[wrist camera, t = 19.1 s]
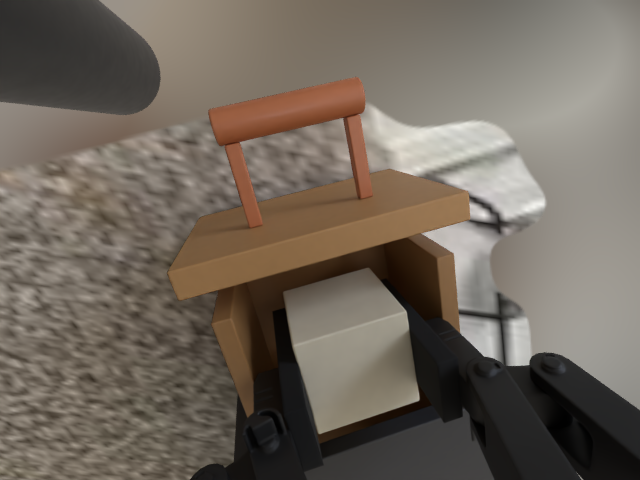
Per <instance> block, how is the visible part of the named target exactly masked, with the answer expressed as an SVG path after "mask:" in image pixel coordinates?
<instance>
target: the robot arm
mask: <svg viewBox="0 0 640 480" xmlns="http://www.w3.org/2000/svg"><path fill="white" fill-rule="evenodd" d="M380 281H381V282H382V283H383V285H384V286H385V287H386V288H387V289H388V290H389V292H390V293H391V294H392V295H393V296H394V297H395V299H396V300H397V301H398V302H399V303H400V304H401V306H402V307H403V308H404V309H405V310H406V312H407V317H408V324H409V331H410V338H411V345H412V351H413V358H414V365H415V372H416V378H417V382H418V384H419V386H420V387H421V389H422V390H423V392H424V393H425V395H426V396H427V398H428V399H429V401H430V402H431V404H432V405H433V407H434V409H435V410H436V412H437V413H438V415H439V416H440V418H441V419H442V421H443V422H444V423H447V422H449V421H452V420H455V419H458V418H461V417H463V410H462V406H463V407H464V408H465V410H466V411H467V412H468V413H469V416H470V429H471V438H472V441H475V437H476V439H477V441H478V443H479V446H480V448H481V450H482V453H483V455H484V457H485V459H486V462H487V464H488V466H489V469H490V471H491V473H492V475H493V478H494V480H581V479H580V477H579V476H578V474H579V475H580V476H581V477H582V479H583V480H640V410H639V409H637V408H636V407H635V406H633V405H632V404H630V403H629V402H628V401H626V400H625V399H623V398H622V397H620V396H619V395H618V394H616V393H615V392H613V391H612V390H610V389H609V388H608V387H607V386H605V385H604V384H602V383H601V382H600V381H598V380H597V379H596V378H594V377H593V376H591V375H590V374H589V373H587V372H585V371H584V370H583V369H582V368H580V367H579V366H577V365H576V364H574V363H573V362H572V361H570V360H569V359H567V358H565V357H563V356H561V355H558V354H554V353H545V352H544V353H538V354H536V355H534V356H532V357H531V359H530V365H526V366H504V365H503V364H502V363H501V362H499V361H497V360H495V359H493V358H489V357H484V356H483V355H482V354H481V353H480V352H479V351H478V350H477V349H476V348H475V347H474V346H473V345H472V344H471V343H470V342H469V341H467V340H466V339H465V338H464V337H463V336H462V335H461V334H460V333H459V332H458V331H457V330H456V329H455V328H454V327H453V326H452V325H451V324H450V323H449V322H448V321H446V320H443V319H441V318H439V317H436V318H433V319H430V320H426V321H424V320H423V318H422V317H421V316H420V315H419V314H418V313H417V312H416V311H415V310H414V308H413V307H412V306H411V305H410V304H409V303H408V302H407V301H406V300H405V299H404V297H403V296H402V295H401V294H400V293H399V292H398V291H397V290H396V289H395V287H394V286H393V285H392V284H391V283H390V282H389V281H388V280H387V279H386V278H385V279H381V280H380ZM272 314H273V323H274V332H275V341H276V350H277V360H278V368H275V369H271V370H268V371H265V372H262V373H258V375H257V377H256V379H255V381H254V384H253V394H254V396H253V402H254V404H253V405H254V413H252V414H251V415H250V416H249V417H248V418H247V419H246V420H245V422H244V424H243V427H242V437H243V439H244V441H245V444H246V446H247V449H248V450H247V451H246V452H245V453H244V454H243V456H241V457H240V458H239V459H238V460H236V461H235V462H233V463H232V464H230V465H229V466H227V467H226V468H224V466H223V465H220V464H210V465H207V466H205V467H203V468H201V469H200V470H199V471H198V472H197V473H195V474H194V475H193V476H192V478H191V479H190V480H307V478H306V476H305V473H304V472H306V471H309V470H312V469H315V468H317V467H320V466H323V465H324V464H323V459H322V454H321V450H320V445H319V440H318V436H317V431H316V426H315V422H314V417H313V413H312V410H311V406H310V403H309V400H308V396H307V393H306V390H305V386H304V383H303V379H302V376H301V373H300V369H299V366H298V363H297V361H296V358H295V354H294V351H293V348H292V343H291V337H290V332H289V326H288V320H287V315H286V309H285V308H282V309H278V310H275V311H272ZM576 472H577V473H578V474H577V473H576Z"/></svg>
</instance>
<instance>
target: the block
mask: <svg viewBox="0 0 640 480" xmlns="http://www.w3.org/2000/svg"><path fill="white" fill-rule="evenodd" d="M283 298H284V303H285V309H286V315H287V320H288V326H289V332H290V337H291V343H292V348H293V351H294V354H295V358H296V361H297V363H298V366H299V369H300V373H301V376H302V379H303V383H304V386H305V390H306V393H307V396H308V400H309V403H310V406H311V410H312V413H313V417H314V422H315V425H316V429H317V432H318V433H319V434H322V433H325V432H328V431H331V430H334V429H337V428H340V427H342V426H345V425H348V424H351V423H354V422H357V421H360V420H363V419H366V418H369V417H372V416H375V415H378V414H381V413H384V412H387V411H390V410H393V409H396V408H399V407H402V406H405V405H408V404H411V403H414V402H417V401H419V400H420V398H419V392H418V385H417V378H416V372H415V365H414V358H413V351H412V345H411V338H410V331H409V324H408V317H407V312H406V310H405V309H404V308H403V307H402V306H401V304H400V303H399V302H398V301H397V300H396V299H395V297H394V296H393V295H392V294H391V293H390V292H389V290H388V289H387V288H386V287H385V286H384V285H383V283H382V282H381V281H380V280H379V279H378V278H377V276H376V275H375V274H374V273H373V272H372V270H371V269H370V268H365V269H361V270H358V271H354V272H351V273H347V274H344V275H340V276H337V277H333V278H330V279H326V280H322V281H319V282H315V283H312V284H308V285H305V286H301V287H298V288H294V289H291V290H287V291H284V292H283Z"/></svg>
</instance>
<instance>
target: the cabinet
mask: <svg viewBox="0 0 640 480" xmlns="http://www.w3.org/2000/svg"><path fill="white" fill-rule="evenodd" d="M462 410H463V417H461V418H458V419H455V420H452V421H449V422H447V423H444V422H443V421H442V419H441V418H440V416H439V415H438V413H437V412H436V410H435V409H434V407H433V405H431V406H428V407H425V408H422V409H419V410H416V411H413V412H410V413H407V414H404V415H401V416H398V417H395V418H392V419H390V420H387V421H384V422H381V423H378V424H375V425H372V426H369V427H366V428H363V429H360V430H357V431H354V432H352V433H349V434H346V435H343V436H340V437H337V438H334V439H331V440H328V441H325V442H322V443H319V445H320V450H321V454H322V459H323V464H324V465H323V466H320V467H317V468H315V469H312V470H309V471H306V472H304V473H305V476H306V478H307V480H494V478H493V475H492V473H491V471H490V469H489V466H488V464H487V462H486V459H485V457H484V455H483V453H482V450H481V448H480V446H479V443H478V441H477V439H476V437H475V441H472V438H471V429H470V416H469V413H468V412H467V411H466V410H465V408H464V407H463V406H462ZM246 419H247V415H246V412H245V410H244V407H243V405H242V402H241V400H240V397H239V395H238V396H237V414H236V433H235V451H234V462H235V461H236V460H238V459H239V458H240V457H241V456H243V454H244V453H245V452H246V451H247V450H248V449H247V446H246V444H245V441H244V439H243V437H242V427H243V424H244V422H245V420H246Z"/></svg>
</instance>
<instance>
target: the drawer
mask: <svg viewBox="0 0 640 480" xmlns="http://www.w3.org/2000/svg"><path fill="white" fill-rule="evenodd" d="M364 109H365V93H364V88H363V85H362V82H361V80H360V79H359V78H358V77H353V78H349V79H345V80H340V81H335V82H330V83H326V84H321V85H317V86H312V87H308V88H303V89H299V90H294V91H290V92H286V93H281V94H276V95H272V96H267V97H262V98H258V99H254V100H249V101H244V102H240V103H235V104H230V105H226V106H222V107H217V108H212V109H209V112H208V114H209V119H210V123H211V126H212V129H213V133H214V135H215V138H216V140H217V143H218V144H219V146H224V145H226V146H225V150H226V153H227V157H228V160H229V163H230V167H231V170H232V173H233V176H234V180H235V183H236V186H237V189H238V193H239V196H240V199H241V203H242V207H238V208H234V209H230V210H226V211H222V212H218V213H214V214H210V215H206V216H202V217H200V218H199V220H198V221H197V223H196V225H195V226H194V228H193V230H192V231H191V233H190V235H189V236H188V238H187V240H186V241H185V243H184V245H183V246H182V248H181V250H180V251H179V253H178V255H177V257H176V258H175V260H174V262H173V263H172V265H171V267H170V268H169V270H168V272H167V275H168V277H169V280H170V282H171V284H172V287H173V289H174V291H175V294H176V296H177V299H178V300H179V301H182V300H185V299H189V298H192V297H196V296H199V295H203V294H207V293H210V292H214V291H217V290H218V294H217V299H216V304H215V309H214V313H213V318H212V323H211V325H212V328H213V331H214V333H215V336H216V338H217V341H218V343H219V346H220V348H221V351H222V354H223V356H224V359H225V361H226V364H227V366H228V369H229V371H230V374H231V377H232V379H233V382H234V384H235V387H236V389H237V392H238V395H239V397H240V400H241V402H242V405H243V407H244V410H245V412H246V415H247V418H248V417H249V416H250V415H251V414H252V413H254V405H253V404H254V402H253V396H254V394H253V384H254V381H255V379H256V377H257V375H258V373H262V372H265V371H268V370H271V369H275V368H278V360H277V350H276V341H275V332H274V323H273V314H272V311H275V310H278V309H282V308H285V303H284V298H283V292H284V291H287V290H291V289H294V288H298V287H301V286H305V285H308V284H312V283H315V282H319V281H322V280H326V279H330V278H333V277H337V276H340V275H344V274H347V273H351V272H354V271H358V270H361V269H365V268H370V269H371V270H372V272H373V273H374V274H375V275H376V276H377V278H378V279H379V280H381V279H385V278H386V279H387V280H388V281H389V282H390V283H391V284H392V285H393V286H394V287H395V289H396V290H397V291H398V292H399V293H400V294H401V295H402V296H403V297H404V299H405V300H406V301H407V302H408V303H409V304H410V305H411V306H412V307H413V308H414V310H415V311H416V312H417V313H418V314H419V315H420V316H421V317H422V318H423V320H424V321H426V320H430V319H433V318H436V317H439V318H441V319H443V320H446V321H448V322H449V323H450V324H451V325H452V326H453V327H454V328H455V329H456V330H457V331H458V332H459V333H460V326H459V314H458V301H457V289H456V276H455V264H454V254H453V253H452V252H450V251H449V250H447V249H445V248H444V247H442V246H440V245H439V244H437V243H436V242H434V241H432V240H431V239H429V238H427V237H426V236H424V235H423V234H421V233H424V232H428V231H431V230H435V229H439V228H442V227H446V226H449V225H453V224H456V223H460V222H464V221H467V220H469V219H470V208H469V193H468V191H465V190H462V189H458V188H455V187H451V186H448V185H444V184H441V183H437V182H434V181H430V180H427V179H423V178H420V177H416V176H413V175H409V174H406V173H402V172H399V171H395V170H392V169H387V170H383V171H379V172H375V173H371V174H369V167H368V161H367V155H366V149H365V143H364V137H363V130H362V124H361V118H360V115H357V114H361V113H363V112H364ZM340 118H344V119H343V120H344V126H345V131H346V137H347V142H348V148H349V154H350V159H351V165H352V170H353V176H354V178H351V179H348V180H344V181H340V182H336V183H332V184H328V185H324V186H320V187H316V188H312V189H308V190H304V191H300V192H297V193H293V194H289V195H285V196H281V197H277V198H273V199H269V200H265V201H261V202H257V200H256V197H255V193H254V190H253V186H252V183H251V179H250V176H249V172H248V169H247V165H246V162H245V159H244V155H243V152H242V148H241V145H240V143H239V142H241V141H246V140H250V139H254V138H258V137H263V136H267V135H271V134H276V133H280V132H284V131H289V130H293V129H297V128H301V127H306V126H310V125H314V124H319V123H323V122H327V121H331V120H336V119H340ZM417 385H418V392H419V398H420V400H419V401H417V402H414V403H411V404H408V405H405V406H402V407H399V408H396V409H393V410H390V411H387V412H384V413H381V414H378V415H375V416H372V417H369V418H366V419H363V420H360V421H357V422H354V423H351V424H348V425H345V426H342V427H340V428H337V429H334V430H331V431H328V432H325V433H322V434H319V433H318V432H317V436H318V440H319V443H322V442H325V441H328V440H331V439H334V438H337V437H340V436H343V435H346V434H349V433H352V432H354V431H357V430H360V429H363V428H366V427H369V426H372V425H375V424H378V423H381V422H384V421H387V420H390V419H392V418H395V417H398V416H401V415H404V414H407V413H410V412H413V411H416V410H419V409H422V408H425V407H428V406H431V405H432V404H431V402H430V401H429V399H428V398H427V396H426V395H425V393H424V392H423V390H422V389H421V387H420V386H419V384H418V382H417ZM315 426H316V425H315ZM316 431H317V429H316Z"/></svg>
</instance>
